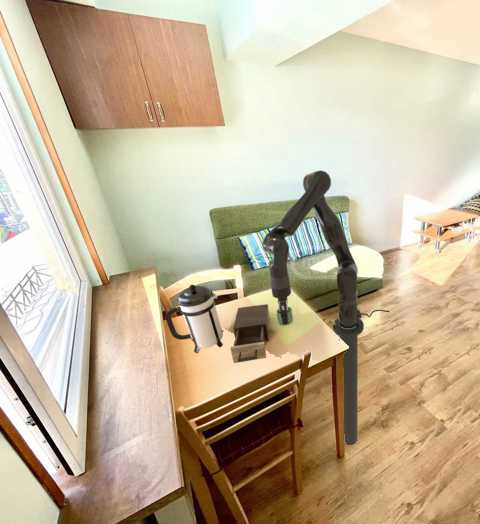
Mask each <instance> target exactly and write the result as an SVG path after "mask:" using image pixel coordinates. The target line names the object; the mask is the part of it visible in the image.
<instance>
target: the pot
mask: <svg viewBox="0 0 480 524" xmlns="http://www.w3.org/2000/svg"><path fill="white" fill-rule="evenodd" d="M284 314H285V313H284ZM287 314H288V317H287V318H288V324H283V322H282V318H281V313H280V311H279V308H278V309H276V316H277V323H278V325H279V326H282V327H283V326H284V327H285V326H289V325H291V324H292V323H293V322H294V317H293V309H292V308H291V307H290V306H288V310H287Z"/></svg>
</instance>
